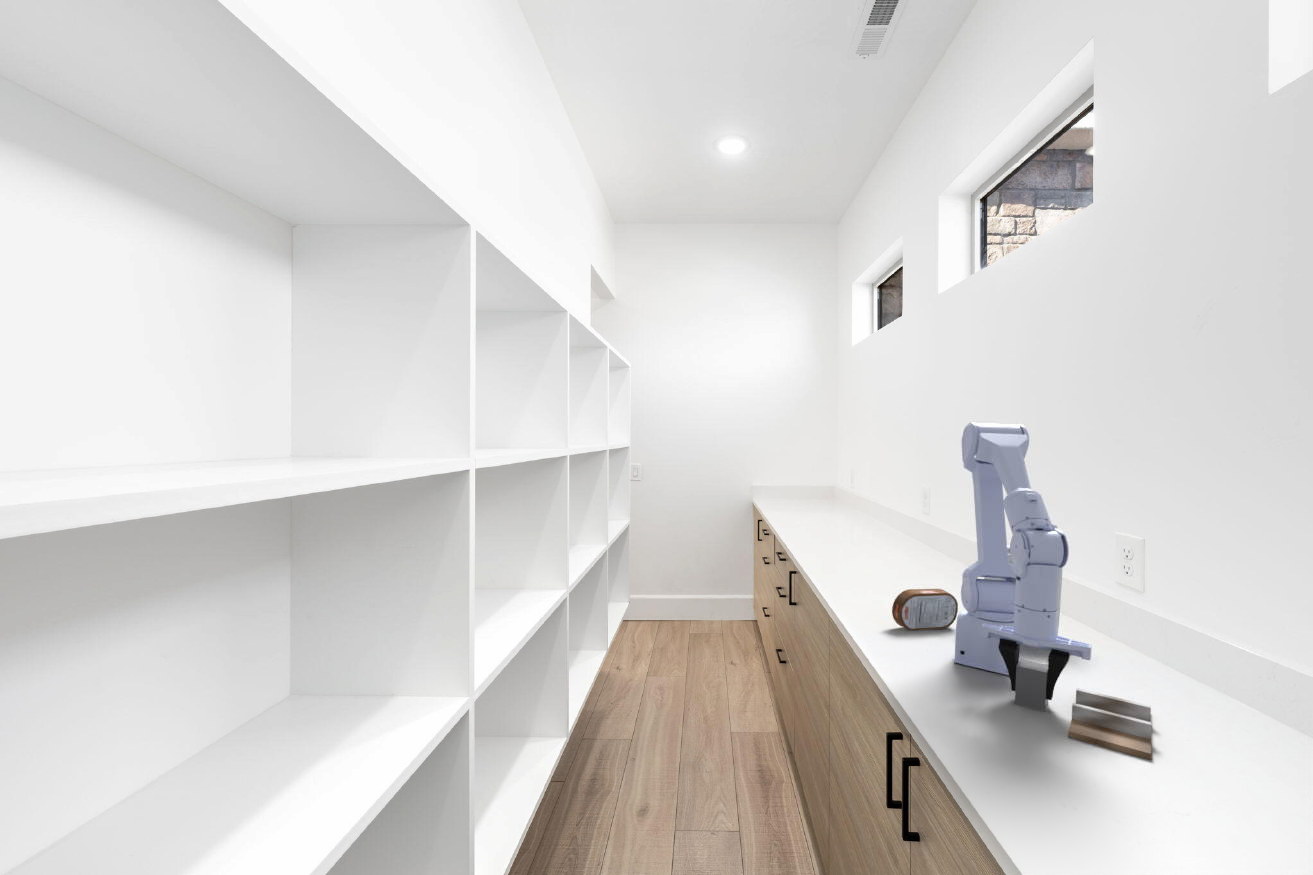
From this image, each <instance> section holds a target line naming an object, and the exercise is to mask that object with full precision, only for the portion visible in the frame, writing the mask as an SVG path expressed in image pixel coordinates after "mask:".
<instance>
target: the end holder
mask: <svg viewBox="0 0 1313 875" xmlns="http://www.w3.org/2000/svg"><path fill="white" fill-rule="evenodd" d="M1075 690H1076V691H1075V702H1072V704H1071V705H1072V706H1071V720H1070V724H1069V728H1068V733H1067V734H1068V736H1067V737H1068V738H1071V739H1074V740H1078V741H1081V742H1082V741H1083V742H1086V743H1089V744H1093V745H1096V746H1099V747H1103V748H1107V749H1110V750H1115V751H1118V752H1121V753H1125V754H1129V755H1132V756H1137V757H1139V758H1143V759H1146V760H1150V761H1152V726H1153V725H1152V721H1151V717H1152V716H1151V712H1152V711H1151V710H1152V705H1151V704H1146V703H1142V702H1137V701H1132V700H1129V699H1125V698H1121V697H1116V696H1113V695H1109V694H1103V693H1100V692H1095V691H1091V690H1086V689H1083V688H1078V687H1077V688H1076V689H1075Z"/></svg>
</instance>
